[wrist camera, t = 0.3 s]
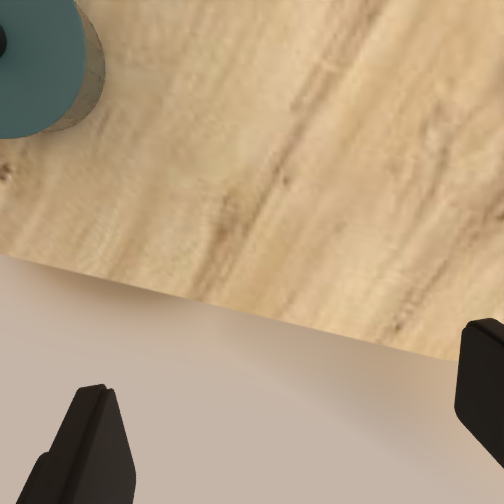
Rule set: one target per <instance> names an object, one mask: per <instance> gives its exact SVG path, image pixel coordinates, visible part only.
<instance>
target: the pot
mask: <svg viewBox="0 0 504 504" xmlns="http://www.w3.org/2000/svg"><path fill="white" fill-rule="evenodd" d="M75 4H76V3H75ZM76 6H77V8H78V11H79V13H80V16H81V18H82V22H83V26H84V29H85V34H86V40H87V50H88V62H87V72H86V76H85V81H84V85H83V87H82V90H81V92H80V95H79V97H78V98H77V100H76V102H75V104H74V105H73V107H72V108H71V109H70V110H69V112H68V113H67V114H66V115H65V116H64V117H63V118H62V119H61V120H60V121H59V122H57V123H56V124H54V125H53V126H51V127H50V128H48V129H46V130H44V131H42V132H48V131H58V130H63V129H65V128H68V127H70V126H72V125H74V124H76V123H78V122H79V121H81V120H82V119H84V118H85V117H86V116H87V115H88V114H89V113H90V112H91V110H92V109H93V108H94V107H95V105H96V103H97V101H98V100H99V97H100V95H101V92H102V89H103V85H104V78H105V61H104V54H103V50H102V47H101V43H100V41H99V38H98V36H97V33H96V32H95V29H94V27H93V25H92V24H91V22H90V21H89V20H88V18H87V17H86V15H85V14H84V13H83V12H82V11H81V9H80V8H79V7H78V5H77V4H76Z"/></svg>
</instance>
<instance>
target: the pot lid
mask: <svg viewBox="0 0 504 504" xmlns="http://www.w3.org/2000/svg"><path fill="white" fill-rule="evenodd" d="M87 62H88V50H87V40H86V34H85V29H84V26H83V22H82V18H81V16H80V13H79V11H78V8H77V6H76V4H75V2H74V0H0V139H12V138H21V137H27V136H31V135H34V134H37V133H40V132H42V131H44V130H46V129H48V128H50V127H51V126H53V125H54V124H56V123H57V122H59V121H60V120H61V119H62V118H63V117H64V116H65V115H66V114H67V113H68V112H69V110H70V109H71V108H72V107H73V105H74V104H75V102H76V100H77V98H78V97H79V95H80V92H81V90H82V87H83V85H84V81H85V76H86V72H87Z"/></svg>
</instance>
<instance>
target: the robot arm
mask: <svg viewBox="0 0 504 504" xmlns="http://www.w3.org/2000/svg"><path fill="white" fill-rule="evenodd" d="M454 408H455V412H456V415H457V417H458V419H459V420H460V421H461V422H462V423H463V425H464V426H465V427H466V428H467V429H468V430H469V431H470V432H471V433H472V434H473V436H474V437H475V438H476V439H477V440H478V441H479V442H480V443H481V444H482V445H483V446H484V448H486V450H487V451H488V452H489V453H490V454H491V455H492V456H493V457H494V458H495V460H496V461H497V462H498V463H499V464H500V465H501V466H502V467H503V468H504V324H502V323H500V322H499V321H497V320H495V319H493V318H486V319H480V320H474V321H470V322H468V324H467V325H466V328H464V329H463V330H462V335H461V345H460V355H459V365H458V375H457V385H456V394H455V404H454ZM135 486H136V471H135V466H134V462H133V459H132V455H131V451H130V447H129V444H128V441H127V436H126V433H125V429H124V425H123V421H122V417H121V414H120V410H119V406H118V402H117V399H116V395H115V392H114V390H113V389H112V388H111V389H107V388H106V386H105V385H104V384H99V385H93V386H87V387H81V388H79V389H78V390H77V392H76V394H75V396H74V398H73V401H72V402H71V405H70V407H69V409H68V411H67V413H66V415H65V418H64V420H63V422H62V424H61V426H60V428H59V431H58V433H57V435H56V437H55V439H54V441H53V444H52V446H51V448H50V450H49V452H45V453H43V454H42V455H41V456H39V458H38V460H37V461H36V463H35V465H34V467H33V469H32V471H31V474H30V475H29V477H28V479H27V482H26V483H25V486H24V488H23V490H22V492H21V494H20V496H19V498H18V500H17V502H16V504H133V498H134V492H135Z"/></svg>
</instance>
